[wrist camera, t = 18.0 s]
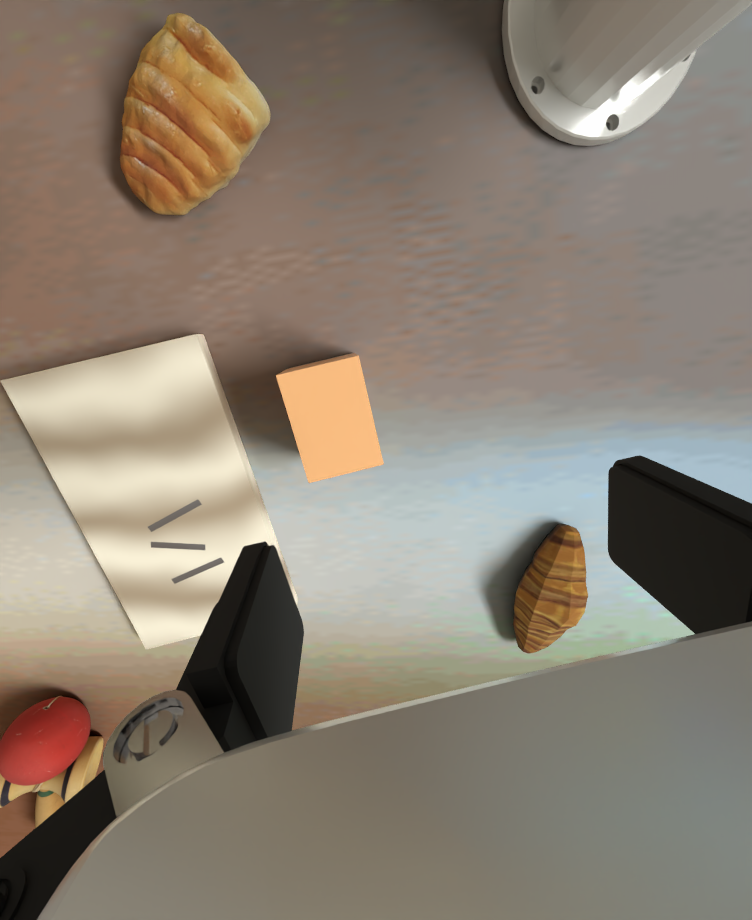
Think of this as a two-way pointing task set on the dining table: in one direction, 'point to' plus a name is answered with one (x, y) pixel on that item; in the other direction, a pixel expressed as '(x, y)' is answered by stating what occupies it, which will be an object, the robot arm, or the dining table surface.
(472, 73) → the dining table surface
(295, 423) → the block
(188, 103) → the pastry
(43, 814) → the kendama
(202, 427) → the ash board
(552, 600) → the croissant
